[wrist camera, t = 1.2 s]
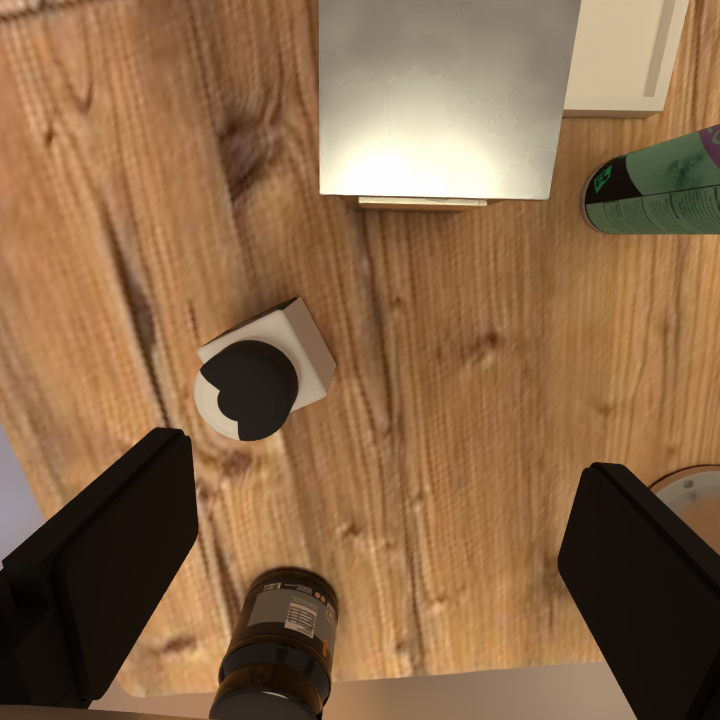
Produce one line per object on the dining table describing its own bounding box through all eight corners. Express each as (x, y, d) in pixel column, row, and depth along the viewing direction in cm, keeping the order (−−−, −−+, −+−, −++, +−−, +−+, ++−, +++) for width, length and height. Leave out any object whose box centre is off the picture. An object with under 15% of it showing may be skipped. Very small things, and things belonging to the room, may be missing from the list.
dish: (692, -94, 24) (716, -119, 22) (645, 118, 28) (663, 110, 26) (505, -94, 25) (514, -118, 23) (482, 115, 28) (489, 108, 26)
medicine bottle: (300, 293, 33) (259, 325, 22) (338, 365, 35) (318, 430, 23) (230, 327, 34) (155, 374, 23) (269, 395, 36) (219, 470, 25)
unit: (469, 121, 28) (585, -23, 12) (459, 217, 30) (548, 199, 14) (352, 119, 29) (318, -24, 13) (350, 214, 31) (319, 193, 15)
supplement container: (261, 638, 46) (222, 772, 35) (236, 570, 43) (184, 692, 31) (348, 630, 45) (337, 765, 33) (328, 559, 42) (309, 681, 30)
